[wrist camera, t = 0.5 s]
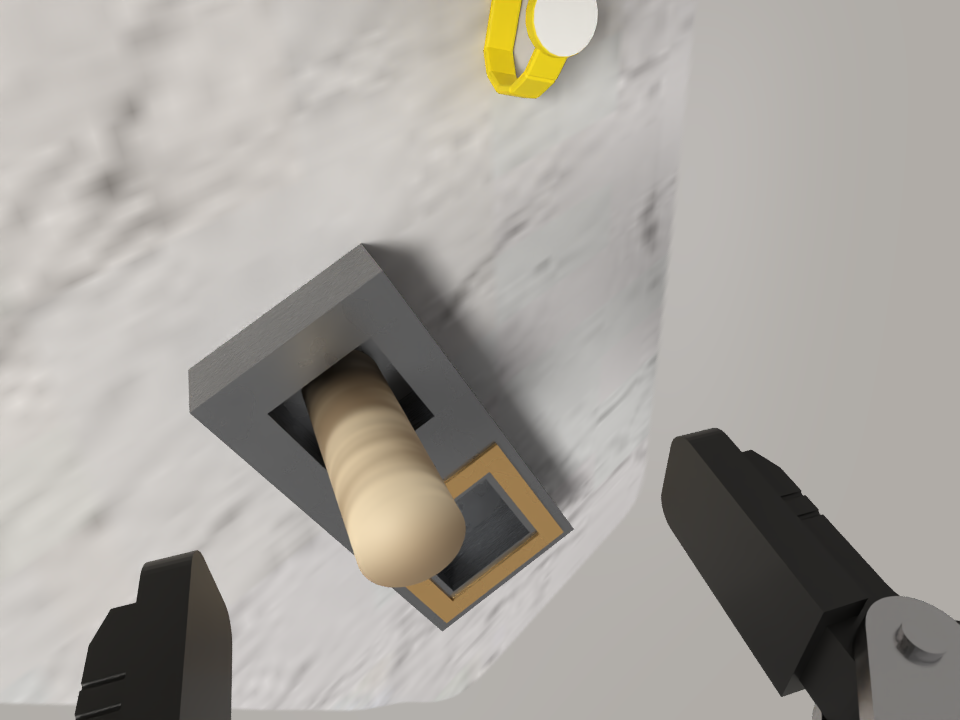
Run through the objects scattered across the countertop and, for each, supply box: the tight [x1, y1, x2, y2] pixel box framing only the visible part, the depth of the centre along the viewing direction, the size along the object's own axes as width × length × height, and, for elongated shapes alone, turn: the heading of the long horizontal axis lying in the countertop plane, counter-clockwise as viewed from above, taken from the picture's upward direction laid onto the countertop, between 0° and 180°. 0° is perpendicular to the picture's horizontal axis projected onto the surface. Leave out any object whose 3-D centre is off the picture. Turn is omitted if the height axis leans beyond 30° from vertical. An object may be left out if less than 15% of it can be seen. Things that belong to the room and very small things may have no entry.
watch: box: [483, 0, 598, 98], centre depth 27 cm, size 6×3×6 cm, turn 170°
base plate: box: [188, 244, 573, 631], centre depth 35 cm, size 21×10×4 cm, turn 30°
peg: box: [302, 350, 466, 588], centre depth 28 cm, size 4×4×12 cm
